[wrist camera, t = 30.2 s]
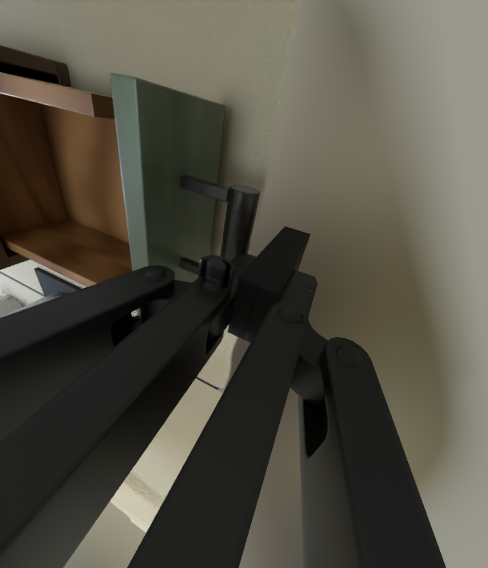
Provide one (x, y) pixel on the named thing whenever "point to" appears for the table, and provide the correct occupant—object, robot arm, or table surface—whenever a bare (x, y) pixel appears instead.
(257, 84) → the table surface
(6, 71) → the cabinet
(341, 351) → the robot arm
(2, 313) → the coffee cup
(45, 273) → the mat
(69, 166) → the drawer
